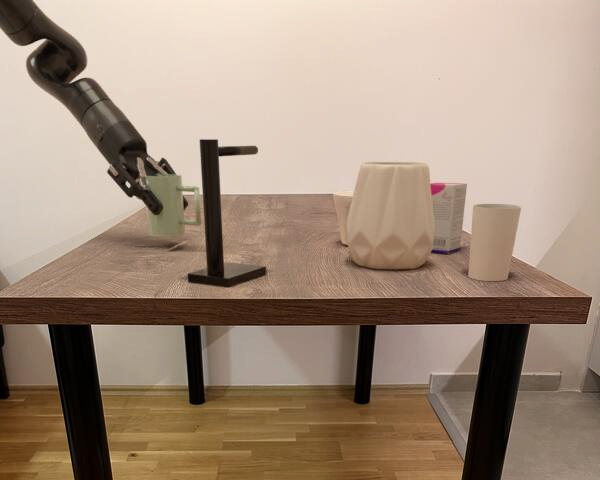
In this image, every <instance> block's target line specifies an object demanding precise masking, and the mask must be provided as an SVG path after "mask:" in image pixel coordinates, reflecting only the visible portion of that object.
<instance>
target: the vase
mask: <svg viewBox="0 0 600 480" xmlns="http://www.w3.org/2000/svg"><path fill="white" fill-rule="evenodd" d="M430 183H431V173H430V166H429V164H427V163H426V162H417V161H365V162H362V163H361V164H360V167H359V170H358V174H357V178H356V180H355V185H354V189H353V191H354V194H353V198H352V202H351V206H350V210H349V215H348V219H347V224H346V230H347V236H348V246H347V248H348V254H349V256H350V258H351V259H352V260H353V262H354V263H355V264H356V265H357V266H358V267H363V268H367V269H369V268H370V269H373V270H374V269H375V270H391V271H392V270H395V271H396V270H414V269H417V268H419V267H421V266H423V265H424V264H425V263H426V262H427V260H428V259H429V257H430V255H431V251H432V249H433V239H434V231H435V222H434V212H433V203H432V195H431V186H430Z"/></svg>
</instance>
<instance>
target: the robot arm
mask: <svg viewBox="0 0 600 480" xmlns="http://www.w3.org/2000/svg"><path fill="white" fill-rule="evenodd" d="M0 30H1V31H2V32H3V34H4V35H6V36H7V38H8V39H9V40H10V41H11V42H12V43H13V44H15V45H16V46H19V47H27V46H30V45H32V44H35V43H37V42H39V41H42V40H44V41H43V42H41V44H39V45H38V46H37V47H36V48H35V49H34V50H33V51H31V52H30V54H29V55H28V56H27V57H26V60H25V67H26V71H27V74H28V76H29V78H30V79H31V80H32V82H33V83H34V84H35V85H36V86H38V87H39V88H40V89H41V90H42V91H44V92H46V93H47V94H48V95H50V96H51V97H53V98H54V99H55V100H57V101H58V102H59V103H60V104H62V105H63V106H64V107H65V108H66V109H67V110H68V111H69V113H70V114H71V115H72V117H74V119H75V120H76V121H77V122H78V124H79V125H80V126H81V128H82V129H83V130H84V132H85V133H86V136H87V137H88V139H89V140H90V141H91V142H92V144H93V145H94V146H95V148H96V149H97V150H98V152H99V153H100V154H101V155H102V157H103V158H104V159H105V161H106V162H107V163H108V164H109V166H108V169H107V171H106V173H107V174H108V175H109V177H110V178H111V179H112V180H113V181H114V182H115V184H117V186H118V187H119V188H120V189H121V190H122V192H123V193H124V194H125V195H126V196H127V197H128V198H131V199H132V198H133V197H136V199H137V200H140V201H142V202H143V204H144V205H145V207H146V206H147V207H148V209H149V210H150V211H151V212H152V213H153V214H154V215H159V214H160V212H161V211H162V210H163V205H162V204H161V203H160V201H159V200H158V199H157V198H156V196H155V195H154V194H153V193H152V191H151V190H149V191H148V185H147V183H146V181H145V176H158V175H155V174H163V175H164V174H176V175H178V174H177V173H176V171H175V170H174V169H173V167H172V166H171V164H170V163H169V162H168V160H167V159H166V158H165V157H161V158H160V159H159V161H158V160H155V159H154V158H153V157H152V156H151V155H150V154H149V153H148V146H147V141H146V140H145V138H144V137H143V136H142V135H141V133H140V132H139V130H137V128H136V127H135V126H134V125H133V123H132V122H131V120H130V119H129V118H128V117H127V115H125V113H124V112H123V111H122V110H121V109H120V107H118V105H116V104H115V103H114V102H113V100H112V99H111V98H110V97H109V95H108V94H107V92H106V91H105V90H104V89H103V88H102V86H101V84H100V83H98V82H97V81H96V80H95V79H94V78H92V77H81V78H78V79H76V78H77V77H78V76H80V75H81V74H82V73H83V72H84V71H85V70H86V69H87V66H88V55H87V52H86V49H85V48H84V46H83V45H82V43H81V42H80V41H79V40H78V39H77V38H76V37H74V36H73V35H72V34H71V33H70V32H69V31H67V30H65V29H64V28H63V27H61V26H59V25H58V24H57V23H56V22H54V21H53V20H52V19H51V18H50V16H48V15H46V14H45V13H44V12H43V11H42V9H41V8H40V7H39V6H38V4H37V3H36V2H35V0H0ZM75 79H76V80H75ZM164 176H165V175H164ZM127 183H128V184H129V185H130V186H128V185H127ZM188 206H189V201H188V200H187V198H186V197H185V196H184V195H183V207H184V211H185V210H186V209H187V208H188Z"/></svg>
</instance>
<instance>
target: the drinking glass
mask: <svg viewBox="0 0 600 480" xmlns="http://www.w3.org/2000/svg"><path fill="white" fill-rule="evenodd" d="M521 210H522V206H521V205H516V204H507V203H477V204H473V205H472V215H471V216H472V218H471V230H470V231H471V233H470V247H469V257H468V259H469V260H468V273H467V277H468V278H469V279H471V280H472V279H473V280H476V281H484V282H501V281H506V280H509V279H508V278H509V273H510V268H511V263H512V257H513V252H514V247H515V243H516V237H517V231H518V226H519V222H520V215H521Z"/></svg>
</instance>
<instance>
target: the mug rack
mask: <svg viewBox="0 0 600 480" xmlns="http://www.w3.org/2000/svg"><path fill="white" fill-rule="evenodd" d="M258 152H259V148H258V146H257V145H230V146H229V145H228V146H224V145H223V146H219V139H217V138H216V139H214V138H213V139H212V138H208V139H207V138H200V139H199V153H200V154H199V155H200V157H199V158H200V171H201V187H202V190H201V191H202V203H203V204H202V206H203V220H204V221H203V223H204V240H205V241H204V243H205V257H206V268H203V269H199V270H195V271H192V272H188V273H187V282H188V283H194V284H201V285H209V286H214V287H215V286H216V287H224V288H231V287H234V286H236V285H240V284H243V283H246V282H248V281H250V280H254V279H257V278H259V277H262V276H265V275H266V274H267V266H265V265H258V264H257V265H255V264H247V263H237V262H231V261H230V262H229V261H227V262H225V260H224V259H225V258H224V239H223V238H224V236H223V235H224V234H223V217H222V195H221V193H222V191H221V175H220V174H221V173H220V157H235V156H252V155H253V156H254V155H257V154H258Z"/></svg>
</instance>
